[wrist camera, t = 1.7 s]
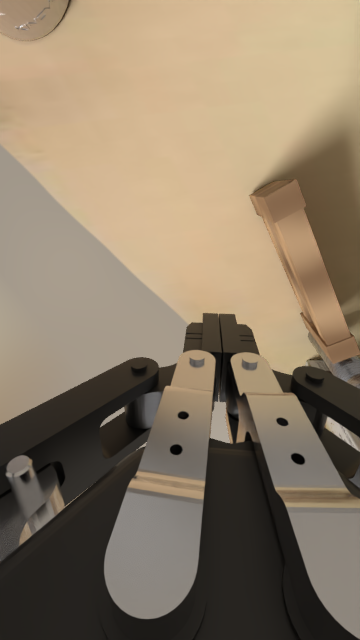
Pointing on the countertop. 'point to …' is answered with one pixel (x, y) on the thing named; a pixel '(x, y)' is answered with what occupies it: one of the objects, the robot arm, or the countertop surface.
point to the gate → (304, 266)
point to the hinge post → (341, 365)
